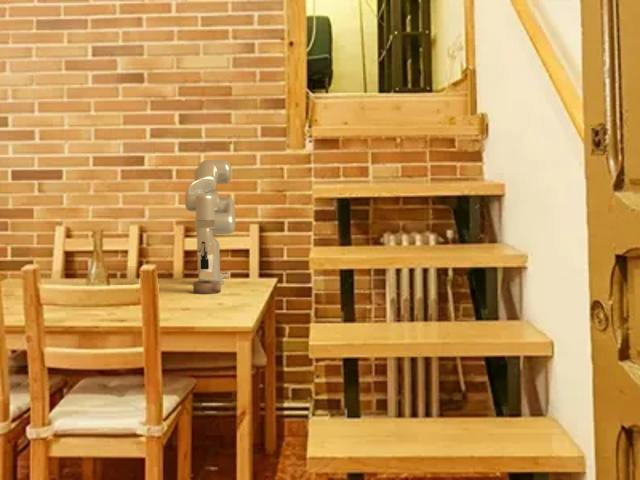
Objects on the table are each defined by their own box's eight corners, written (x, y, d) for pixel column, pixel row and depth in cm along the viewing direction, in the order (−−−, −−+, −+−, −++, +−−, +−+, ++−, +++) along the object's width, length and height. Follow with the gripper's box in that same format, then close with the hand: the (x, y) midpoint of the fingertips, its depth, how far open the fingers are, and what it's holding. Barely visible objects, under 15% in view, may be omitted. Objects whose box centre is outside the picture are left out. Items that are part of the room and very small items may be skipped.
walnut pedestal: (209, 289, 301) (209, 279, 300) (226, 291, 293) (225, 282, 293) (188, 292, 293) (187, 282, 292) (204, 295, 285) (204, 285, 285)
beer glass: (194, 279, 291) (194, 243, 289) (203, 277, 297) (203, 241, 296) (209, 280, 288) (208, 243, 287) (218, 278, 294) (217, 242, 293)
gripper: (200, 223, 299) (201, 265, 301) (191, 226, 282) (192, 270, 284) (218, 223, 299) (219, 265, 301) (210, 226, 282) (211, 270, 283)
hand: (206, 267), depth 292 cm, fingers closed on beer glass, 6 cm apart
